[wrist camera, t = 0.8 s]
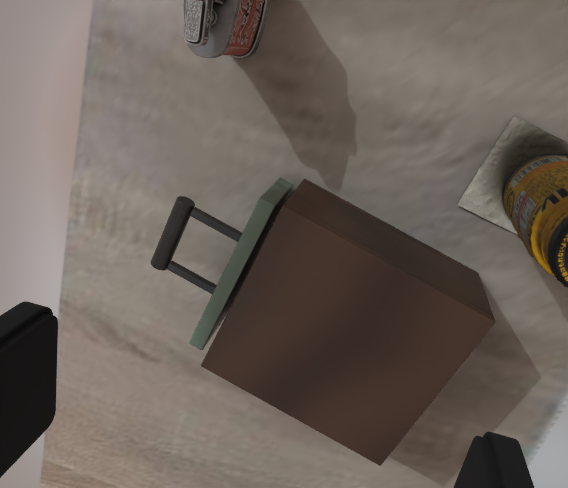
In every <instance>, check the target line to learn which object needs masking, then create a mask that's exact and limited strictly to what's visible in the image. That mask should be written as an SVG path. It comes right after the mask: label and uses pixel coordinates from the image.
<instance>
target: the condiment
mask: <svg viewBox="0 0 568 488" xmlns="http://www.w3.org/2000/svg"><path fill="white" fill-rule="evenodd" d="M457 205H459V206H461V207H463V208H465V209H466V210H468V211H471V212H473V213H475V214H477V215H478V216H480V217H482V218H485V219H487V220H489V221H491V222H493V223H494V224H497V225H499V226H501V227H503V228H505V229H507V230H509V231H511V232H513V233H515V234H517V235H518V237H519V238H520V239H521V240H522V241H523V242H524V244H525V245H526V247H527V249H528V251H529V253H530V255H531V256H532V257H534V258H535V260H536V261H537V263H538V264H540V265H541V267H542V268H543V269H544V270H545V271H547V272H548V273H550V274H551V275H553V276H555V277H556V278H557V280H558V281H560V282H561V283H562V284H564V286H566V287H568V142H566V141H564V140H562V139H560V138H558V137H555V136H553V135H551V134H549V133H547V132H545V131H543V130H541V129H539V128H537V127H535V126H533V125H531V124H529V123H527V122H525V121H523V120H521V119H519V118H517V117H515V116H513V118H512V119H511V121H510V123H509V124H508V126H507V127H506V128H505V130H504V131H503V133H502V135H501V136H500V138H499V139H498V141H497V142H496V144H495V146H494V147H493V148H492V150H491V152H490V153H489V155H488V156H487V158H486V160H485V161H484V163H483V164H482V166H481V167H480V168H479V170H478V172H477V174H476V176H475V177H474V179H473V180H472V182H471V184H470V185H469V187H468V188H467V190H466V192H465V193H464V195H463V196H462V198H461V200H460V201H459V203H458V204H457Z"/></svg>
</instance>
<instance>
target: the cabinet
mask: <svg viewBox="0 0 568 488" xmlns="http://www.w3.org/2000/svg"><path fill="white" fill-rule="evenodd" d="M494 323H495V319H494V316H493V314H492V311H491V308H490V305H489V303H488V300H487V297H486V294H485V291H484V288H483V286H482V283H481V280H480V277H479V274H478V273H477V272H476V271H474V270H472V269H470V268H468V267H466V266H465V265H463V264H461V263H459V262H457V261H455V260H454V259H452V258H450V257H448V256H446V255H444V254H442V253H441V252H439V251H437V250H435V249H433V248H431V247H430V246H428V245H426V244H424V243H422V242H420V241H419V240H417V239H415V238H413V237H411V236H409V235H407V234H406V233H404V232H402V231H400V230H398V229H396V228H395V227H393V226H391V225H389V224H387V223H385V222H384V221H382V220H380V219H378V218H376V217H374V216H373V215H371V214H369V213H367V212H365V211H363V210H361V209H360V208H358V207H356V206H354V205H352V204H350V203H349V202H347V201H345V200H343V199H341V198H339V197H338V196H336V195H334V194H332V193H330V192H328V191H327V190H325V189H323V188H321V187H319V186H317V185H315V184H314V183H312V182H310V181H308V180H306V179H304V180H303V181H302V182H301V184H300V185H299V186H298V188H297V189H296V190H295V191H294V193H293V194H292V195H291V196H290V198H289V199H288V200H287V202H286V203H285V204H284V205H283V207H282V209H281V211H280V213H279V215H278V216H277V218H276V220H275V222H274V224H273V226H272V228H271V230H270V232H269V234H268V236H267V238H266V240H265V242H264V244H263V246H262V248H261V250H260V252H259V253H258V255H257V257H256V259H255V261H254V263H253V265H252V267H251V269H250V271H249V273H248V275H247V277H246V279H245V281H244V283H243V285H242V287H241V288H240V290H239V292H238V294H237V296H236V298H235V300H234V302H233V304H232V306H231V308H230V310H229V312H228V314H227V316H226V318H225V320H224V322H223V324H222V325H221V327H220V329H219V331H218V333H217V335H216V337H215V339H214V341H213V343H212V345H211V347H210V349H209V351H208V353H207V355H206V357H205V359H204V360H203V362H202V364H201V366H202V367H204V368H205V369H207V370H209V371H211V372H213V373H214V374H216V375H218V376H220V377H222V378H223V379H225V380H227V381H229V382H231V383H232V384H234V385H236V386H238V387H240V388H241V389H243V390H245V391H247V392H249V393H250V394H252V395H254V396H256V397H258V398H259V399H261V400H263V401H265V402H267V403H268V404H270V405H272V406H274V407H276V408H277V409H279V410H281V411H283V412H285V413H286V414H288V415H290V416H292V417H294V418H295V419H297V420H299V421H301V422H303V423H304V424H306V425H308V426H310V427H311V428H313V429H315V430H317V431H319V432H320V433H322V434H324V435H326V436H328V437H329V438H331V439H333V440H335V441H337V442H338V443H340V444H342V445H344V446H346V447H347V448H349V449H351V450H353V451H355V452H356V453H358V454H360V455H362V456H364V457H365V458H367V459H369V460H371V461H373V462H374V463H376V464H378V465H380V466H381V465H382V463H383V462H384V461H385V460H386V458H387V457H388V456H389V455H390V453H391V452H392V451H393V450H394V448H395V447H396V446H397V445H398V443H399V442H400V441H401V440H402V438H403V437H404V436H405V435H406V433H407V432H408V431H409V429H410V428H411V427H412V426H413V424H414V423H415V422H416V421H417V419H418V418H419V417H420V416H421V414H422V413H423V412H424V411H425V409H426V408H427V407H428V406H429V404H430V403H431V402H432V401H433V399H434V398H435V397H436V396H437V394H438V393H439V392H440V391H441V389H442V388H443V387H444V386H445V384H446V383H447V382H448V381H449V379H450V378H451V377H452V376H453V374H454V373H455V372H456V371H457V369H458V368H459V367H460V366H461V364H462V363H463V362H464V361H465V359H466V358H467V357H468V356H469V354H470V353H471V352H472V351H473V349H474V348H475V347H476V346H477V344H478V343H479V342H480V341H481V339H482V338H483V337H484V336H485V334H486V333H487V332H488V331H489V329H490V328H491V327H492V325H493V324H494Z"/></svg>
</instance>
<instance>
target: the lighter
mask: <svg viewBox="0 0 568 488" xmlns="http://www.w3.org/2000/svg"><path fill="white" fill-rule="evenodd" d="M269 2H270V0H184V21H185V24H184V33H183V34H184V40H185V42H186V43H187V45H188V46H189V48H190V50H191V51H192V52H194V53H195V54H196V55H198V56H200V57H203V58H216V57H219V56H221V55H230V56H233V57H236V58H245V57H248V56H251V55H252V54H253V53H254V52H255V51H256V49H257V47H258V44H259V41H260V38H261V35H262V32H263V29H264V25H265V21H266V16H267V12H268V7H269Z"/></svg>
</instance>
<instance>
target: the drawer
mask: <svg viewBox="0 0 568 488" xmlns="http://www.w3.org/2000/svg"><path fill="white" fill-rule="evenodd" d="M292 186H293V184H291V183H289V182H288V181H286V180H284V179H282V178H279V179H278V180H277V181H276V182H275V183H274V184H273V185H272V186H271V187H270V188H269V189H268V190H267V191H266V192H265V193H264V194H263V195H262V196H261V197H260V198H259V200H258V202H257V205H256V207H255V209H254V211H253V213H252V215H251V217H250V219H249V221H248V223H247V225H246V227H245V229H244V231H243V233H242V232H240V231H238V230H236V229H234V228H232V227H231V226H229V225H227V224H225V223H223V222H222V221H220V220H218V219H216V218H214V217H212V216H211V215H209V214H207V213H205V212H203V211H201V210H200V209H198V208H196V207H195V208H194V206H195V203H194V202H193V201H192V200H191V199H189V198H187V197H183V196H179V197H178V198H177V199H176V202H175V204H174V207H173V209H172V211H171V214H170V216H169V219H168V221H167V224H166V226H165V228H164V231H163V233H162V236H161V238H160V241H159V243H158V245H157V248H156V250H155V253H154V255H153V257H152V260H151V265H152V266H153V267H154V268H156V269H158V270H166V269H168V270H169V271H171V272H173V273H175V274H177V275H179V276H180V277H182V278H184V279H186V280H188V281H189V282H191V283H193V284H195V285H197V286H198V287H200V288H202V289H204V290H206V291H208V292H209V293H211V294H213V295H212V297H211V299H210V301H209V303H208V305H207V307H206V309H205V311H204V313H203V315H202V317H201V319H200V321H199V323H198V325H197V327H196V329H195V331H194V333H193V336H192V338H191V340H190V342H189V343H190V344H191V345H193V346H195V347H197V348H198V349H200V350H203V348H204V347H205V346H206V344H207V343H208V341H209V340H210V338H211V337H212V335H213V334H214V332H215V331H216V329H217V328H218V326H219V325H220V323H221V322H222V320H223V319H224V317H225V316H226V314H227V313H228V311H229V309H230V307H231V305H232V303H233V301H234V299H235V297H236V295H237V293H238V291H239V290H240V288H241V286H242V284H243V282H244V280H245V278H246V276H247V274H248V272H249V270H250V268H251V266H252V264H253V262H254V260H255V258H256V256H257V254H258V253H259V251H260V249H261V247H262V245H263V243H264V241H265V239H266V237H267V235H268V233H269V231H270V229H271V227H272V225H273V223H274V221H275V219H276V217H277V216H278V214H279V212H280V210H281V208H282V206H283V204H284V202H285V200H286V198H287V196H288V194H289V192H290V190H291V188H292ZM190 216H192V217H193V218H195V219H197V220H199V221H201V222H203V223H204V224H206V225H208V226H210V227H212V228H214V229H215V230H217V231H219V232H221V233H223V234H224V235H226V236H228V237H230V238H232V239H234V240H235V241H237V242H238V243H237V245H236V248H235V250H234V252H233V254H232V256H231V258H230V260H229V262H228V264H227V266H226V268H225V270H224V272H223V274H222V276H221V278H220V280H219V282H218V284H217V285H215V284H214V283H212V282H210V281H208V280H206V279H205V278H203V277H201V276H199V275H197V274H196V273H194V272H192V271H190V270H188V269H186V268H185V267H183V266H181V265H179V264H177V263H176V262H174V261H171V260H172V257H173V255H174V253H175V250H176V248H177V246H178V243H179V241H180V239H181V236H182V234H183V232H184V230H185V227H186V225H187V223H188V220H189V218H190Z"/></svg>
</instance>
